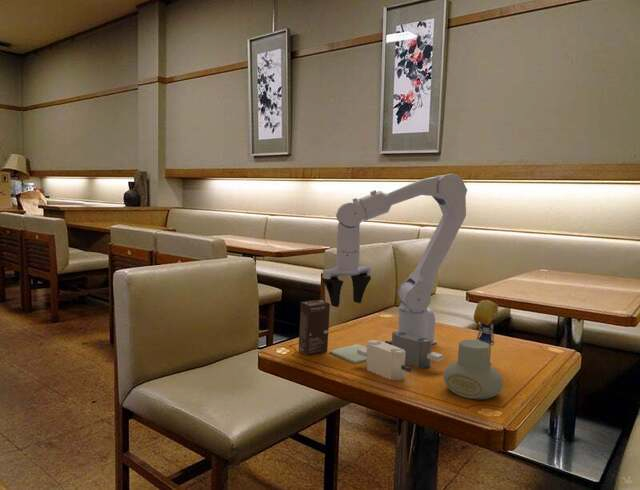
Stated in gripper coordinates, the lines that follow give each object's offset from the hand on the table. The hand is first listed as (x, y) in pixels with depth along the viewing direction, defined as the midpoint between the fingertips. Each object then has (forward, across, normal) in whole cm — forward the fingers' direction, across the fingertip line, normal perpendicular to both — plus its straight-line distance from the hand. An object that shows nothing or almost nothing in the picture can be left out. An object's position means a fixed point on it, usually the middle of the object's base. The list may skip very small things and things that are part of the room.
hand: (346, 304), depth 122 cm
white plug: (+10, +8, +21) cm, 24 cm away
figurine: (+10, -15, +30) cm, 35 cm away
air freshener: (+10, +1, +38) cm, 39 cm away
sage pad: (+10, +4, +8) cm, 14 cm away
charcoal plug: (+10, -2, +20) cm, 22 cm away
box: (+10, +11, +1) cm, 15 cm away
